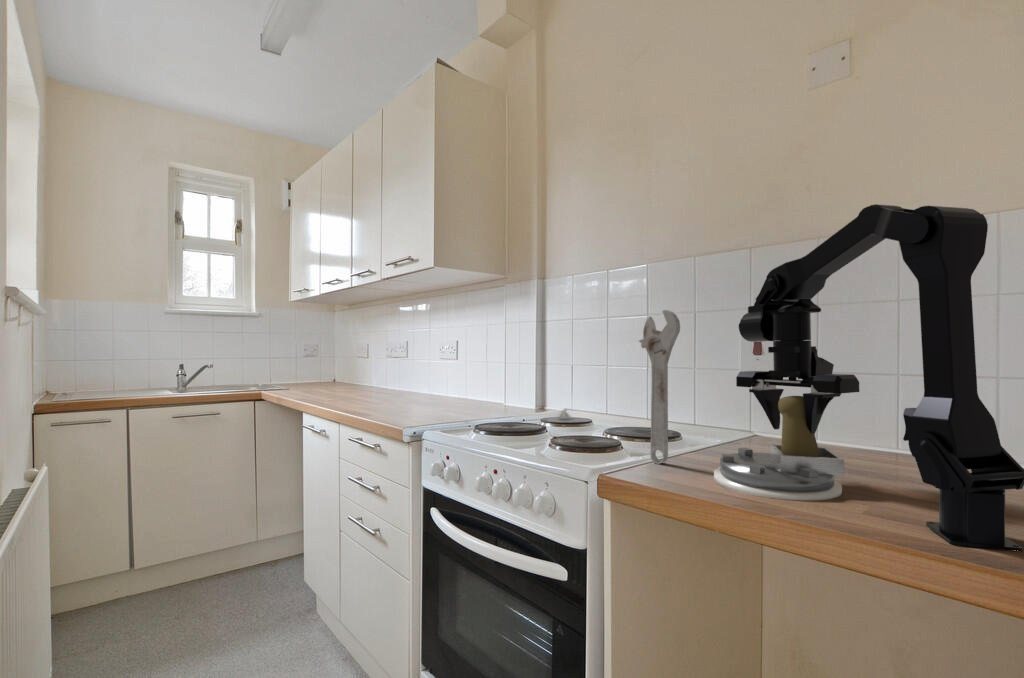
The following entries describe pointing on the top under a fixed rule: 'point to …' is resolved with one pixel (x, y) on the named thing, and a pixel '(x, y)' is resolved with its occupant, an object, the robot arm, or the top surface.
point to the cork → (796, 429)
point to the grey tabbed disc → (783, 469)
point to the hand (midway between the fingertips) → (793, 431)
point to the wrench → (660, 378)
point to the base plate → (777, 494)
